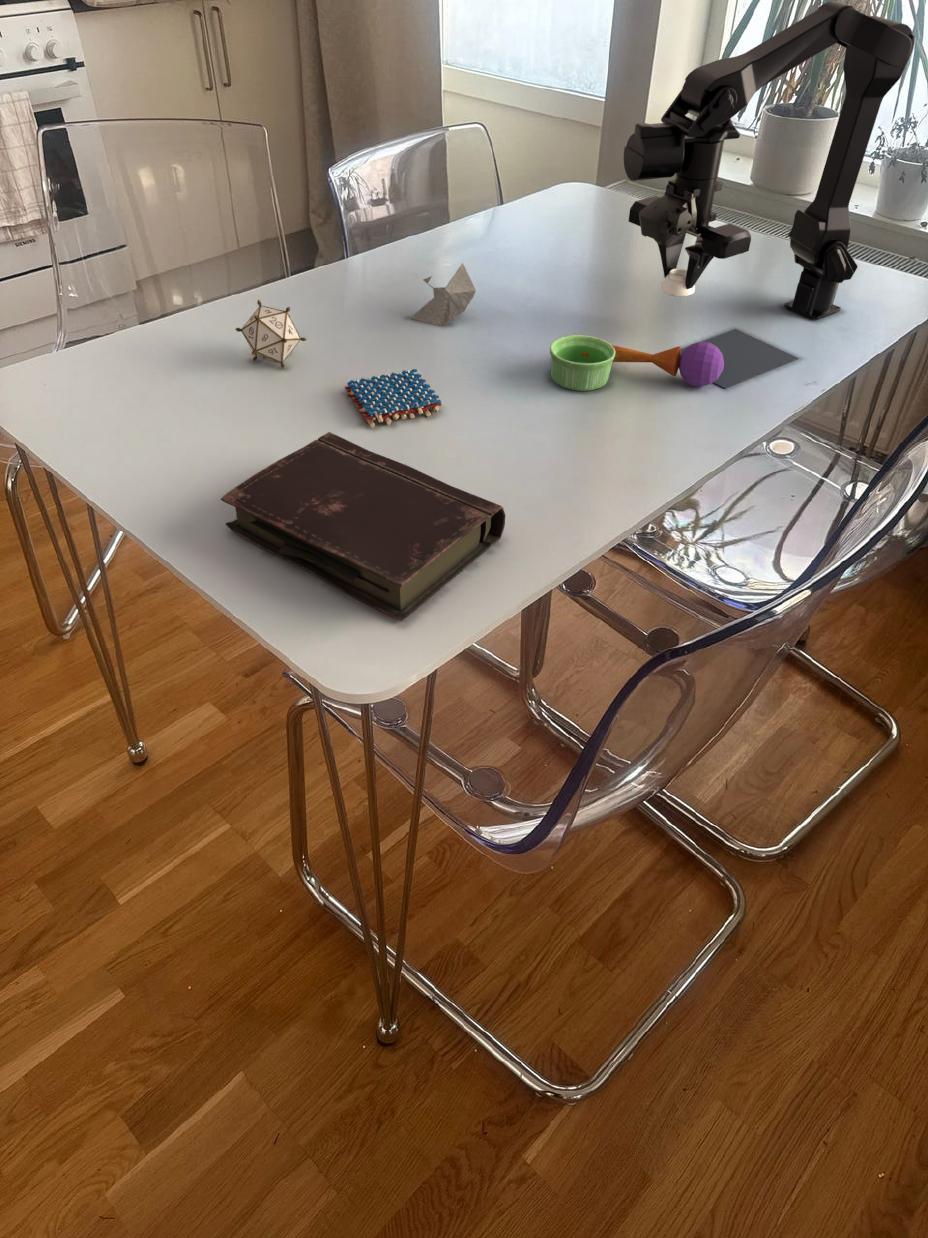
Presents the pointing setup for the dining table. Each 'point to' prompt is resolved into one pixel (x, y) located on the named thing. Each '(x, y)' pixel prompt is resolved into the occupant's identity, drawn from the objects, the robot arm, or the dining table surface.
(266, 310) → the game die
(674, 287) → the white jar
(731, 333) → the slate mat
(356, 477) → the diary
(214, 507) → the dining table surface
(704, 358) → the kendama
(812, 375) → the dining table surface
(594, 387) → the ramekin
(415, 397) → the woven mat
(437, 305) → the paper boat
